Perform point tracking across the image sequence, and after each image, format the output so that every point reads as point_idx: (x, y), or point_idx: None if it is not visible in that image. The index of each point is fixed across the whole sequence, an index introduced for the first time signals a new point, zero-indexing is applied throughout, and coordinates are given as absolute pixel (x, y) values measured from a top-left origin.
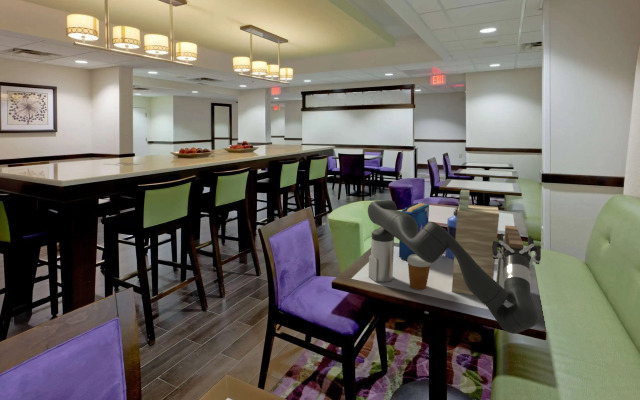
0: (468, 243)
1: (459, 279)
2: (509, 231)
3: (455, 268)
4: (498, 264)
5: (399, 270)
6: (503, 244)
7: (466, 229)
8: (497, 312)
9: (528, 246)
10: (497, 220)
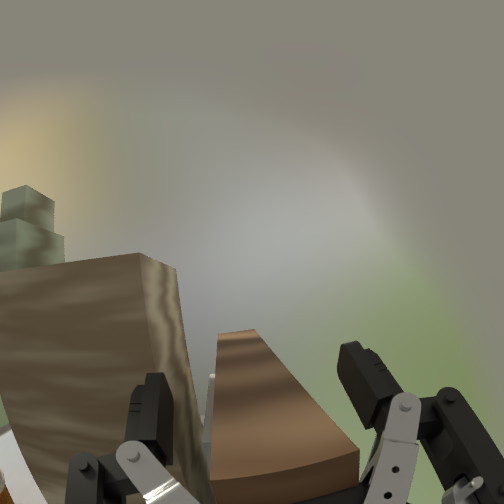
0: (52, 435)
1: None
2: (228, 350)
3: None
4: None
5: (11, 478)
6: (157, 484)
7: (22, 366)
8: None
9: (390, 432)
10: (137, 292)
